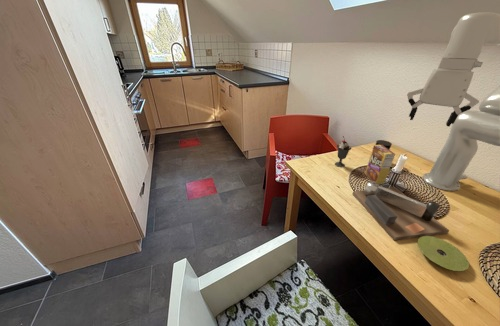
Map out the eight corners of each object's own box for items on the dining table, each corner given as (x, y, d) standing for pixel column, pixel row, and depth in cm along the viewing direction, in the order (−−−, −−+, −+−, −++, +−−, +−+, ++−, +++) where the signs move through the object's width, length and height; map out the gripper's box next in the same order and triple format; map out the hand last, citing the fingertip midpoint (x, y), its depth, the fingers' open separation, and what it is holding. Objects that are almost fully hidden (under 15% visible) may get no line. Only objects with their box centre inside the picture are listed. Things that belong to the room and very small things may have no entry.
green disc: (417, 233, 65) (419, 229, 64) (464, 254, 59) (468, 249, 58) (412, 257, 58) (415, 253, 57) (465, 283, 52) (470, 279, 51)
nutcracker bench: (394, 190, 85) (398, 180, 82) (447, 233, 65) (455, 222, 63) (352, 194, 83) (355, 184, 80) (393, 240, 63) (399, 229, 61)
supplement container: (385, 159, 108) (391, 141, 102) (384, 165, 103) (391, 146, 97) (370, 156, 111) (376, 139, 105) (369, 161, 106) (376, 143, 100)
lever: (362, 193, 80) (367, 180, 77) (366, 189, 82) (371, 176, 79) (429, 223, 66) (438, 209, 63) (432, 217, 68) (440, 203, 65)
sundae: (334, 160, 107) (340, 134, 100) (348, 163, 104) (355, 137, 96) (330, 165, 103) (337, 138, 95) (344, 169, 99) (352, 141, 92)
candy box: (363, 173, 96) (373, 144, 88) (372, 173, 96) (383, 144, 88) (374, 184, 88) (385, 153, 81) (384, 184, 88) (396, 153, 81)
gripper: (495, 66, 57) (462, 124, 65) (419, 63, 66) (399, 114, 74) (502, 68, 51) (465, 131, 60) (418, 64, 61) (397, 119, 69)
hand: (428, 122), depth 67 cm, fingers open, 9 cm apart
